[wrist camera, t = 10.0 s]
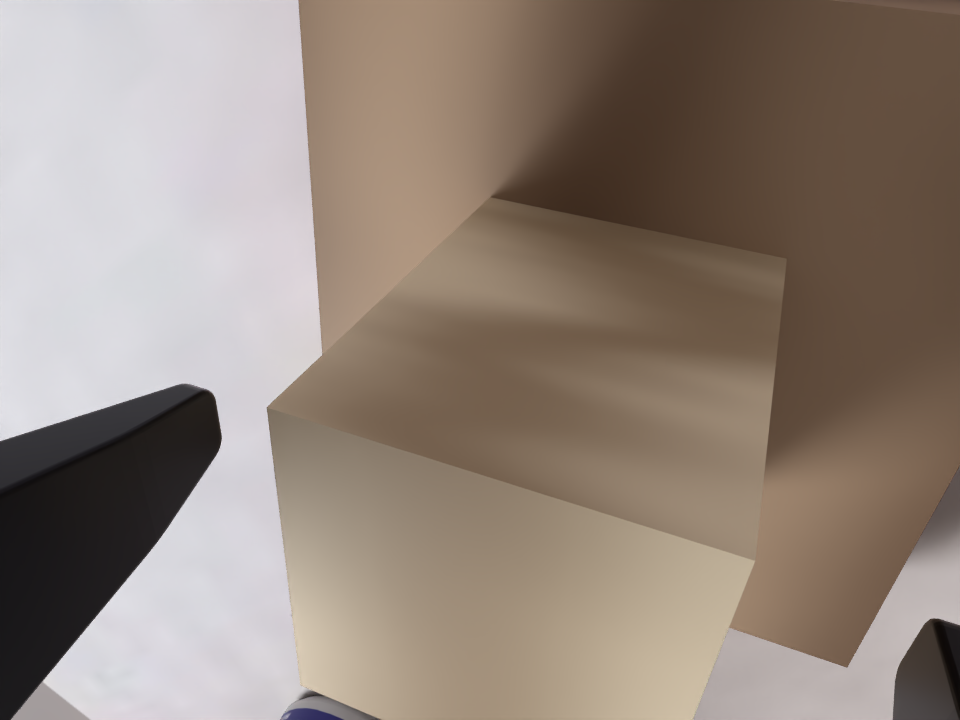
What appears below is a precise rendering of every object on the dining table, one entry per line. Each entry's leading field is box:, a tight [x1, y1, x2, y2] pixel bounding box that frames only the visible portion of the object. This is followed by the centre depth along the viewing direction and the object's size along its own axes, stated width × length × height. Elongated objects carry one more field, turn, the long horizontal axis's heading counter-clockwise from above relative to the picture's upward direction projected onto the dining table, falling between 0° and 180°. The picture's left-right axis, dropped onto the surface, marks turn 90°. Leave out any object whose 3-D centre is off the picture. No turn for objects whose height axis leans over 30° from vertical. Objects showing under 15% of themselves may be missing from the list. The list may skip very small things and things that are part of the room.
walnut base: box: [299, 0, 960, 667], centre depth 13 cm, size 11×11×2 cm
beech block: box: [267, 197, 787, 720], centre depth 10 cm, size 4×4×6 cm
